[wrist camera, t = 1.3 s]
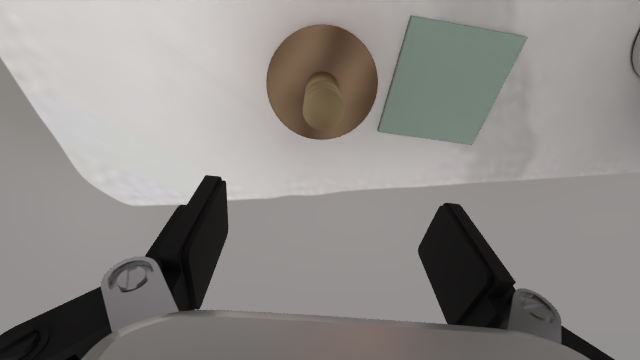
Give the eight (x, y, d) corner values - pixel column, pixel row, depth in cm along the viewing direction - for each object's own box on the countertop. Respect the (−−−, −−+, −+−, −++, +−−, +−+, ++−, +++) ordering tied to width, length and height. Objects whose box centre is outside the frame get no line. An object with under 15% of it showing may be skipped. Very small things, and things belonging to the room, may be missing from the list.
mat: (524, 36, 32) (527, 37, 31) (469, 143, 39) (472, 144, 39) (410, 15, 30) (412, 15, 30) (377, 130, 38) (378, 131, 37)
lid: (390, 35, 27) (413, 46, 20) (361, 142, 34) (372, 176, 27) (270, 14, 26) (254, 19, 19) (265, 129, 32) (252, 161, 26)
